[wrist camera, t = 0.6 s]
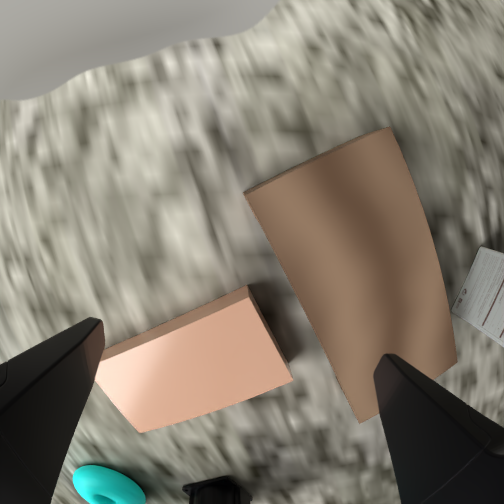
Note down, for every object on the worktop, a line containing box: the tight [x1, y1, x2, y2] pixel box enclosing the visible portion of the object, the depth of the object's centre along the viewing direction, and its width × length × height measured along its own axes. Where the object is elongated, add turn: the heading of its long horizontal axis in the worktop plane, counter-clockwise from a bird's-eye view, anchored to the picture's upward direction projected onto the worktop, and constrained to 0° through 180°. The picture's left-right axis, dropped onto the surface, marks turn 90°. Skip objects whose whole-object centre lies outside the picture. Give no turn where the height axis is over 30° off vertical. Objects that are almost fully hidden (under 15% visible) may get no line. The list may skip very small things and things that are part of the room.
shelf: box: [243, 127, 457, 424], centre depth 22 cm, size 10×20×5 cm, turn 27°
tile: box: [95, 285, 293, 433], centre depth 24 cm, size 15×8×3 cm, turn 116°
